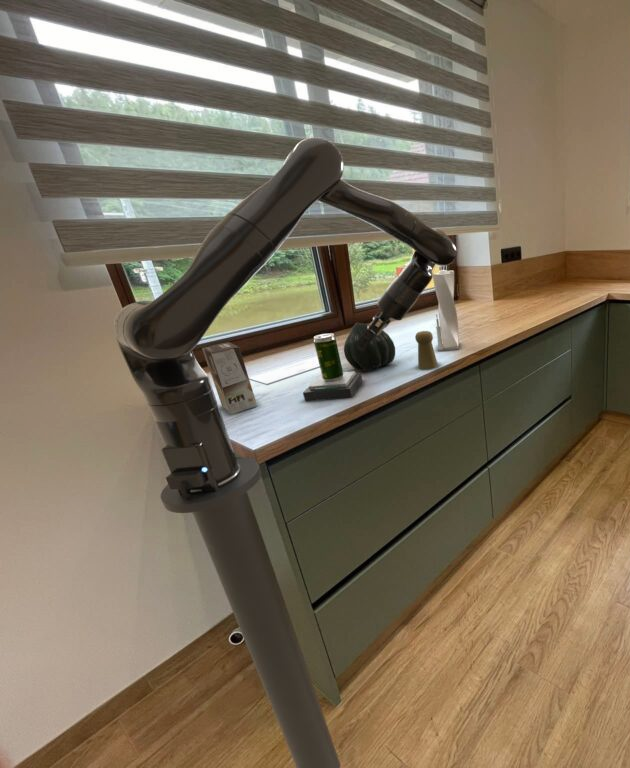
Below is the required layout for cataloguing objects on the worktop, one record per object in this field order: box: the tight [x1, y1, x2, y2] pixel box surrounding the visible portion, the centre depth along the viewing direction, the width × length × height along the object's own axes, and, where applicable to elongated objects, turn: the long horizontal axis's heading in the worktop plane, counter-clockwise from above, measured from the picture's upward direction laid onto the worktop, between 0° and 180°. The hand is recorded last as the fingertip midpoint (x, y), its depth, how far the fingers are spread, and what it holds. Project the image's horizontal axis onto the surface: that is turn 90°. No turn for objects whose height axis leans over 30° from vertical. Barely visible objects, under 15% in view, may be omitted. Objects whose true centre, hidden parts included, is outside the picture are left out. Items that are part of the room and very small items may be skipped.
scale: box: [302, 371, 363, 402], centre depth 116 cm, size 12×12×4 cm
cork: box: [414, 330, 439, 370], centre depth 130 cm, size 6×6×11 cm
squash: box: [343, 322, 396, 372], centre depth 133 cm, size 14×15×15 cm
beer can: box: [313, 332, 344, 382], centre depth 114 cm, size 5×5×12 cm
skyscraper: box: [432, 265, 460, 352], centre depth 146 cm, size 8×8×28 cm
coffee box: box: [201, 341, 258, 415], centre depth 108 cm, size 9×6×16 cm
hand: (362, 344), depth 113 cm, fingers open, 8 cm apart
